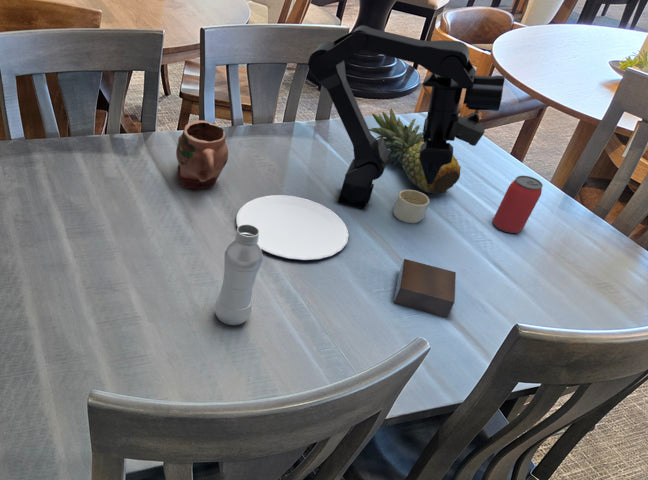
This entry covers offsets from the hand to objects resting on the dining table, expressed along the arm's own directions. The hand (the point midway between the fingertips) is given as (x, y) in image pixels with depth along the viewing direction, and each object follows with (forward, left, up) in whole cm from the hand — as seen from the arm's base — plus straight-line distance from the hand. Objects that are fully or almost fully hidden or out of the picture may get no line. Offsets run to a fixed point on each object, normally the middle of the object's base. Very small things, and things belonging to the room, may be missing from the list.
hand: (430, 174), depth 140 cm
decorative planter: (-51, -9, -12) cm, 53 cm away
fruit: (-4, +23, -12) cm, 26 cm away
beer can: (+20, +6, -12) cm, 24 cm away
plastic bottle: (-30, -52, -12) cm, 61 cm away
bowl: (-2, 0, -12) cm, 12 cm away
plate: (-26, -18, -12) cm, 33 cm away
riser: (+3, -29, -12) cm, 31 cm away
